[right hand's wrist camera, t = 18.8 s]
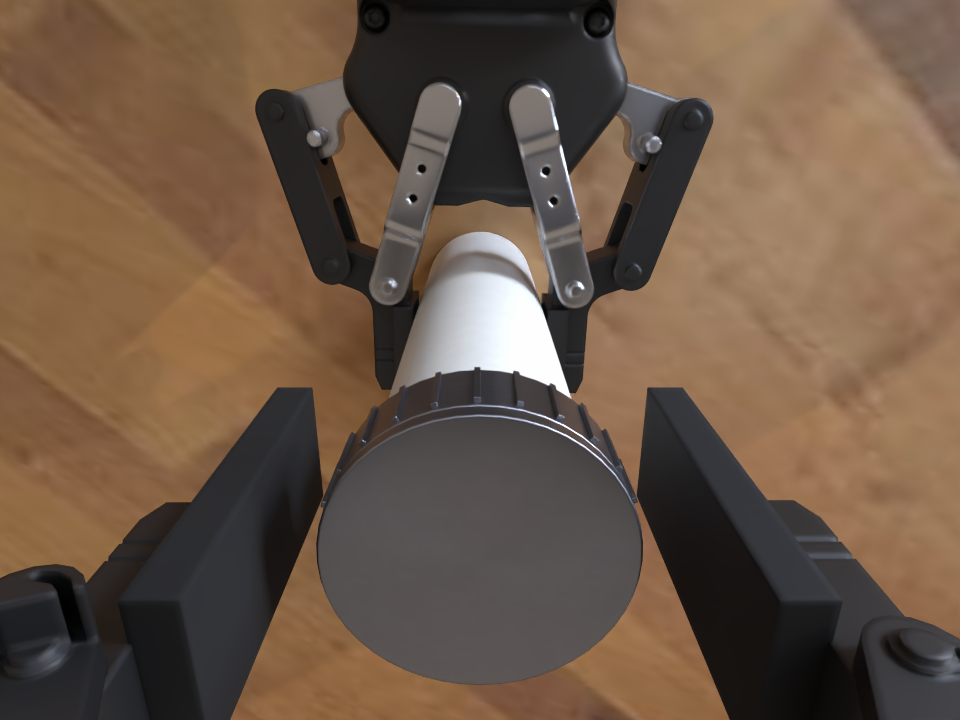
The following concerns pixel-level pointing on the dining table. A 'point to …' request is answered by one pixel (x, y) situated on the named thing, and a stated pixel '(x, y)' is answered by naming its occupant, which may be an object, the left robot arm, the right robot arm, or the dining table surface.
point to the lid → (479, 529)
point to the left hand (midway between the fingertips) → (479, 396)
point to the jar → (479, 316)
